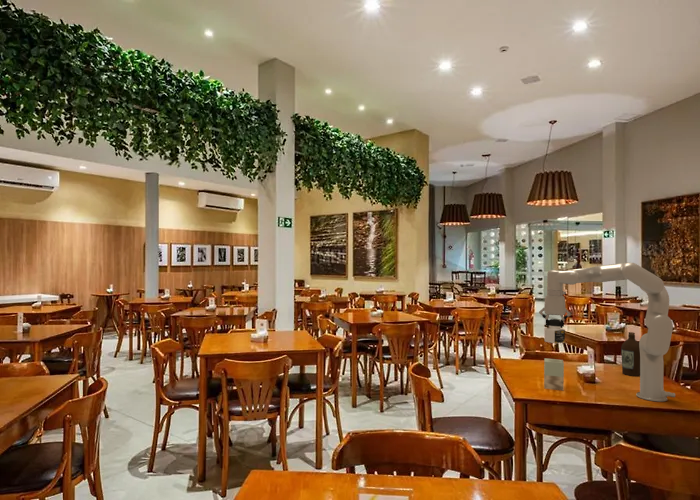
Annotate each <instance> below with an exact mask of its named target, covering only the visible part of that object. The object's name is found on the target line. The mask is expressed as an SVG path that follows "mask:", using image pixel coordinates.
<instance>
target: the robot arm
mask: <svg viewBox="0 0 700 500" xmlns="http://www.w3.org/2000/svg"><path fill="white" fill-rule="evenodd" d="M546 277H547V279H546V280H547V281H546V283H547V287H546V289H547V290H546V295H545V297H544V303H543V304H544V307H543V308H542V309H540V311H538V313H539V314H540V315H541V316H542V318H543V319H544V320H545V326H546V328H549V320H550V319H549V317H550V315H551V316H559V317H560V318H561V319H560V321H561V328H560V329H564V328H563V327H565V320H567V319H568V318H569V317H571V315H572V313H571V311H569V310H568V309H567V308H566V298H565V295H566V294H567V292H566V291H564V290H563V288H564V284H565V285H576V284H580V283H607V282H616V281H617V282H618V281H625V280H628V281H629V282H631V283H633V284H634V285H636V286H637V287H638V288H640V289H641V291H642V292H644V293H646V295H647V299H648V303H647V309H646V313H645V319H644V325H645V326H646V327H647V328H648V329H647V333H644V334H643V335H641V337H640V338H639V341H638V343H639V348H640V376H639V391H638V392H636V397H637V398H640V399H642V400H646V401H651V402H661V403H663V402H666V401H668V398H667V397H670V398H676V393H675V392H670V391H665V389H664V355H666V354H667V353H668V351H669V349H670V345H671V339H672V335H673V334H672V333H673V327H674V326H673V325H674V324H673V320H672V319H671V317H669V307H670V295H669V292H668V290H667V288H666V287H665V283H664V280H663V279H661V278H660V277H659V276H657V275H656V274H654V273H652V272H650V271H649V270H647V269H646V268H644V267H642V266H640V265H639V264H637V263H635V262H620V263H613V264H603V265H595V266H591V267H586V268H585V267H583V268H576V269H567V270H560V269H559V270H558V269H556V270H555V269H549V270H548V271H547V276H546ZM564 315H565V316H564Z"/></svg>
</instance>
